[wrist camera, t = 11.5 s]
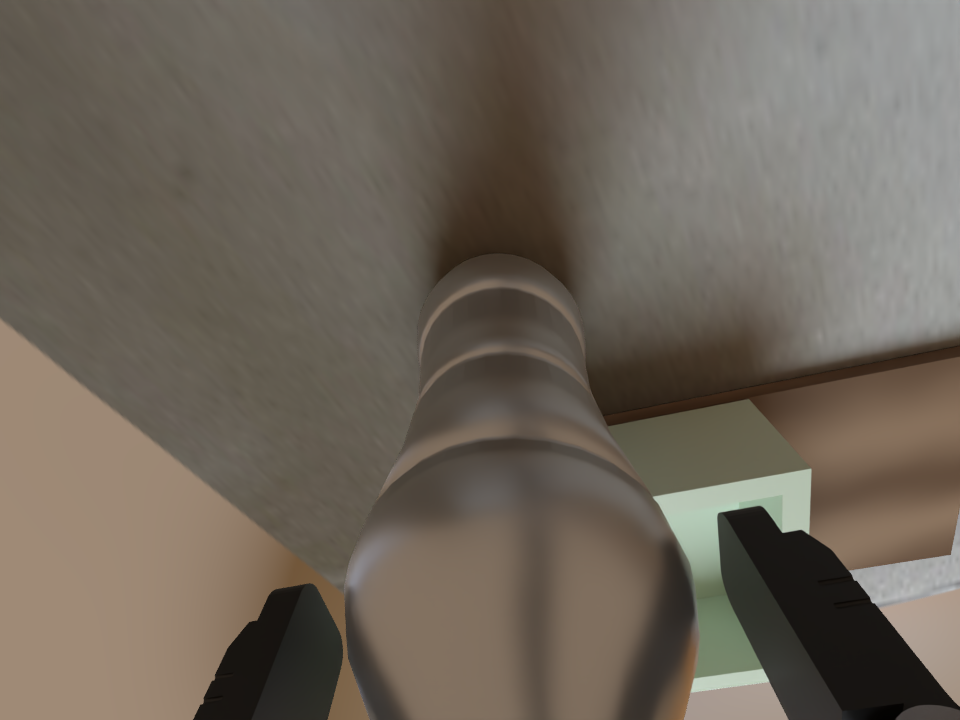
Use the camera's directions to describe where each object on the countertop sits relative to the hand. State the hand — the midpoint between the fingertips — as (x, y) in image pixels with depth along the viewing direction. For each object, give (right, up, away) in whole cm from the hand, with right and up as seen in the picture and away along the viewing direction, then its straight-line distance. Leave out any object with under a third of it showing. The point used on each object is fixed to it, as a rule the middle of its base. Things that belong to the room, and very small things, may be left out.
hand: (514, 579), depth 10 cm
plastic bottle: (0, +6, +13) cm, 14 cm away
